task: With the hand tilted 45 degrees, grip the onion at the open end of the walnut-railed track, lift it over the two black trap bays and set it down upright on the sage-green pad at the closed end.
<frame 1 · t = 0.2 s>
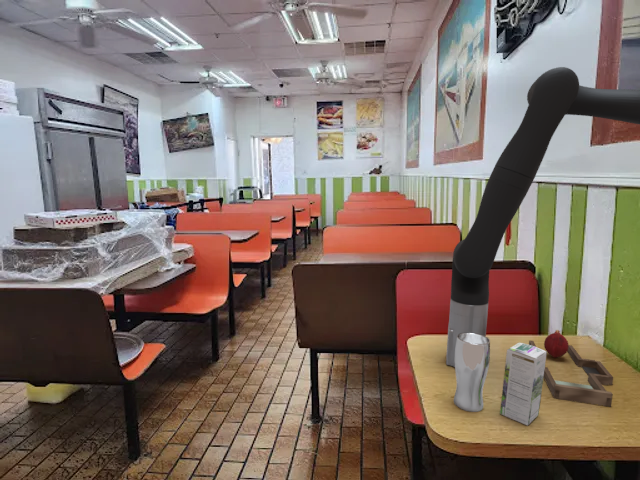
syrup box: (519, 416, 84), on the table
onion: (554, 358, 112), resting in trap track
beer glass: (468, 405, 88), on the table
trap track: (563, 372, 104), on the table
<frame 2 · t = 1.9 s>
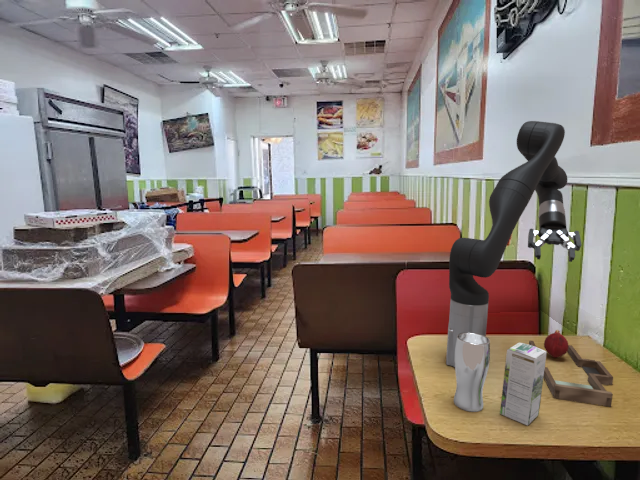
hand: (554, 259, 123), 25 cm above the table, tool tilted 45°, fingers open, 8 cm apart
nothing on the table moved.
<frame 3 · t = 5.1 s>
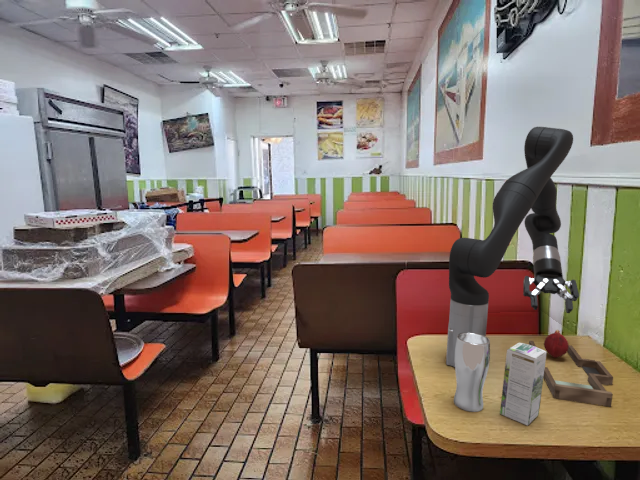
hand: (552, 310, 117), 11 cm above the table, tool tilted 45°, fingers open, 8 cm apart
nothing on the table moved.
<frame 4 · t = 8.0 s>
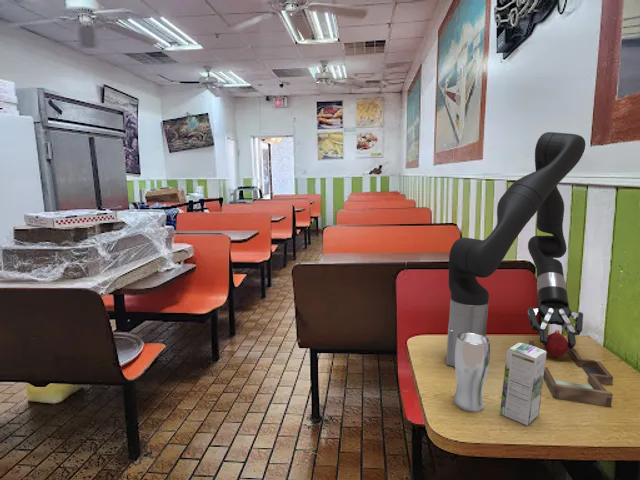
hand: (558, 345, 110), 4 cm above the table, tool tilted 45°, fingers closed on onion, 5 cm apart
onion: (554, 358, 112), resting in trap track, touching gripper
everything else where it was.
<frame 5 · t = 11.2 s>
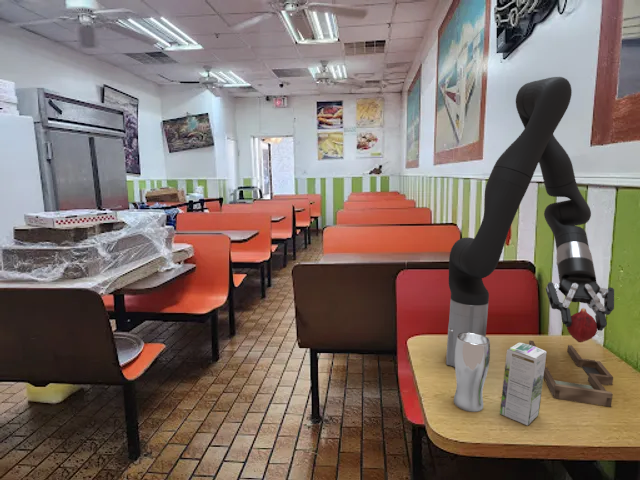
hand: (584, 327, 91), 16 cm above the table, tool tilted 45°, fingers closed on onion, 5 cm apart
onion: (579, 343, 93), point 12 cm above the table, touching gripper
everything else where it was.
when the fingers open (6 cm above the table, at t = 14.2 s): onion drops 1 cm, resting on trap track.
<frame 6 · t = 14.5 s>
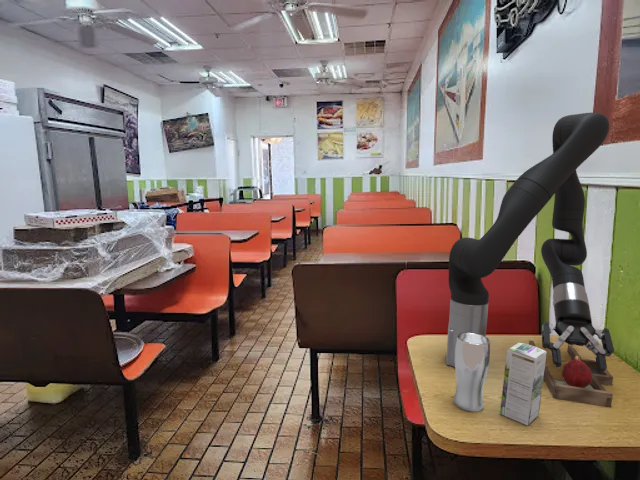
hand: (580, 369, 92), 6 cm above the table, tool tilted 45°, fingers open, 8 cm apart
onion: (576, 390, 94), resting on trap track
everything else where it was.
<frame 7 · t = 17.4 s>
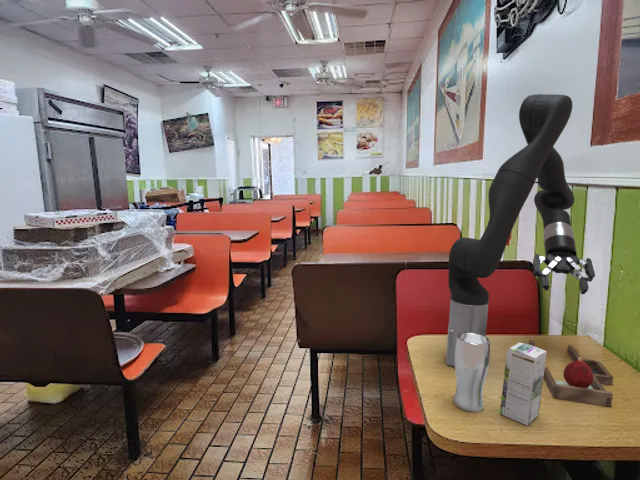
hand: (565, 290, 107), 20 cm above the table, tool tilted 45°, fingers open, 8 cm apart
nothing on the table moved.
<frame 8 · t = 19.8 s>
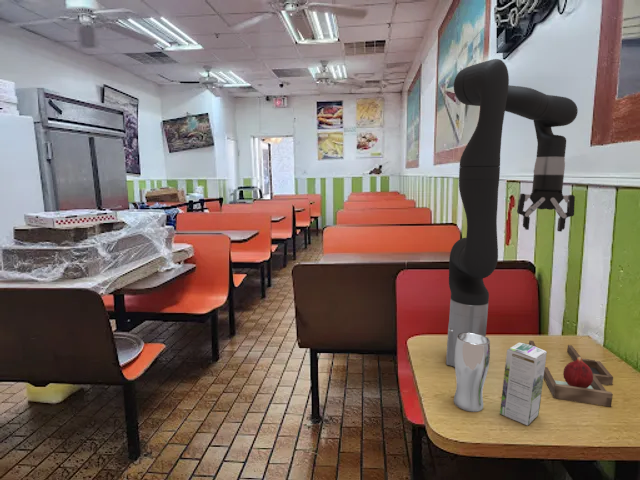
hand: (543, 230, 118), 34 cm above the table, tool pointing down, fingers open, 8 cm apart
nothing on the table moved.
at the end: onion inside the target area (0.3 cm from its centre), resting on trap track; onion tilted 0°; the gripper is holding nothing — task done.
